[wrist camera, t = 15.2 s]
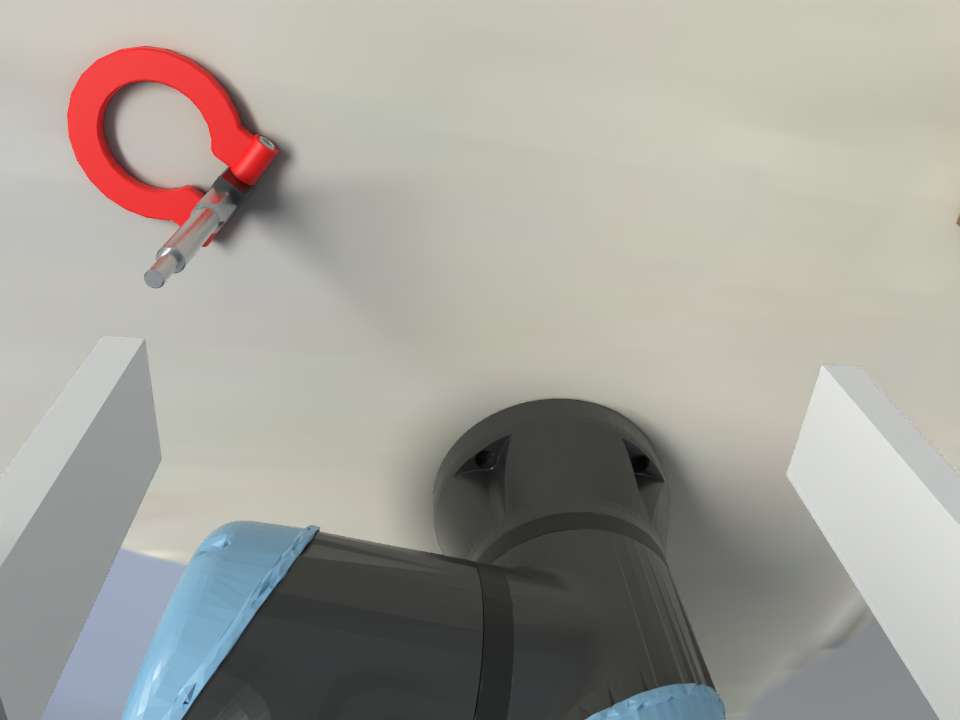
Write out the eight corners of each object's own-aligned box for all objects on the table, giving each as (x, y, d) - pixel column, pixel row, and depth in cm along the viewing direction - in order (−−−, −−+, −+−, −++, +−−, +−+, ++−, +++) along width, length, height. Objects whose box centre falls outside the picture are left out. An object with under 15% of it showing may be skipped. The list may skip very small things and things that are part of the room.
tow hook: (45, 142, 41) (203, 254, 44) (-110, 221, 30) (116, 365, 33) (131, 6, 39) (293, 135, 42) (-5, 36, 27) (232, 212, 30)
